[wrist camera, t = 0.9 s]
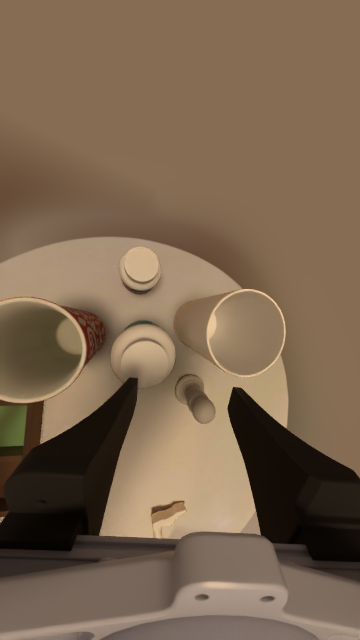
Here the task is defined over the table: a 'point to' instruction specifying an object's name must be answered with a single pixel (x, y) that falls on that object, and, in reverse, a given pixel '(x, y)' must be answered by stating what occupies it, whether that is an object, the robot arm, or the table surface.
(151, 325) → the pill bottle
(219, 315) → the cup
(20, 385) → the mug
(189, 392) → the chess piece
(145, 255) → the pill bottle
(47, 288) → the table surface
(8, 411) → the tray
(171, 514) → the figurine
